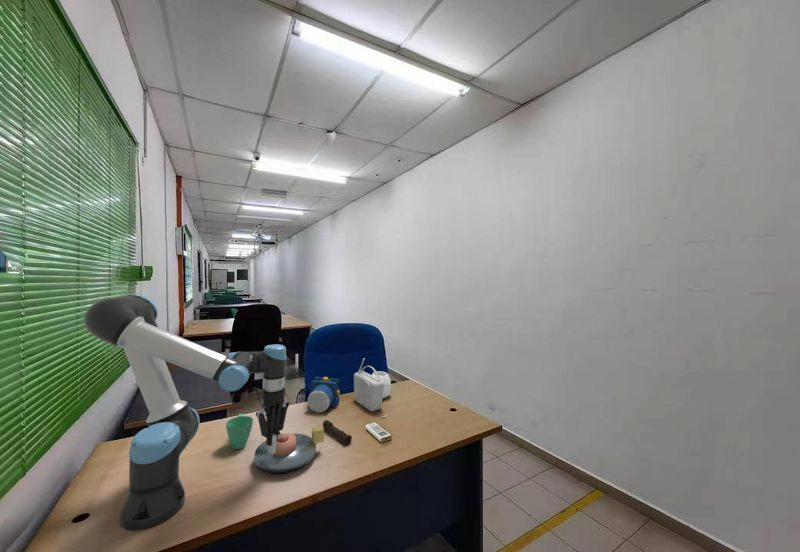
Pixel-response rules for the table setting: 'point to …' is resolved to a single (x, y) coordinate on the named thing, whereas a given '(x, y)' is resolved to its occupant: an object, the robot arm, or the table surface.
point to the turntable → (296, 459)
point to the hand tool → (337, 432)
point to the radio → (368, 389)
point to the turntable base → (284, 471)
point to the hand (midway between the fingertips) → (271, 452)
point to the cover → (285, 445)
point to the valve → (323, 394)
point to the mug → (239, 430)
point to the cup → (386, 381)
